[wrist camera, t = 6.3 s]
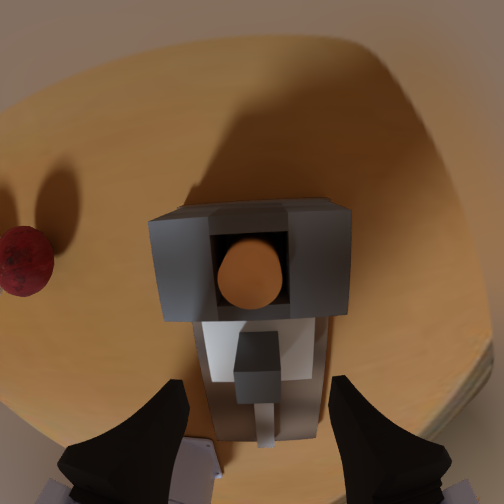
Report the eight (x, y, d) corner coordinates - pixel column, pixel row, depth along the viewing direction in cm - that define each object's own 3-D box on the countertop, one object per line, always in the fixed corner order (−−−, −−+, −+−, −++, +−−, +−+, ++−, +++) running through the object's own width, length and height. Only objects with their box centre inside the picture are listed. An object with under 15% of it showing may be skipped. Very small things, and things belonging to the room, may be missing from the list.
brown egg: (278, 277, 15) (283, 308, 12) (230, 279, 15) (220, 310, 12) (276, 229, 15) (281, 247, 11) (226, 232, 15) (214, 250, 11)
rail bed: (313, 427, 25) (322, 484, 17) (219, 430, 25) (209, 487, 18) (325, 197, 19) (362, 209, 12) (182, 205, 19) (138, 222, 12)
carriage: (307, 359, 20) (319, 419, 14) (216, 362, 21) (202, 421, 14) (309, 287, 19) (328, 338, 13) (206, 292, 19) (182, 342, 13)
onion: (56, 208, 20) (-11, 225, 12) (80, 268, 21) (20, 304, 13) (23, 233, 21) (-35, 255, 13) (45, 286, 22) (-9, 320, 14)
